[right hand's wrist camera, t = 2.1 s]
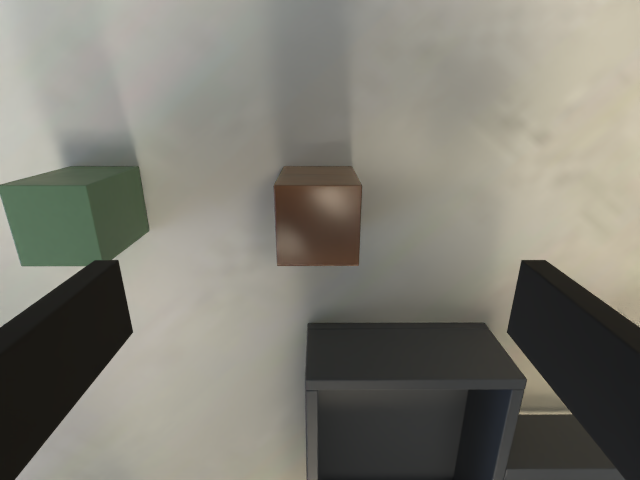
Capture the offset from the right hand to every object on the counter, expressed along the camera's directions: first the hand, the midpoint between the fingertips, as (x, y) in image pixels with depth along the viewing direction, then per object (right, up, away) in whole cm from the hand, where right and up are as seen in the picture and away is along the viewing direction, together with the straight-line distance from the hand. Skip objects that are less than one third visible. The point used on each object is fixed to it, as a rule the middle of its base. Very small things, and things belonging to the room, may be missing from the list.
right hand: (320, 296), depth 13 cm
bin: (+11, -12, +19) cm, 25 cm away
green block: (-14, +5, +13) cm, 20 cm away
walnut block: (0, +5, +13) cm, 14 cm away
